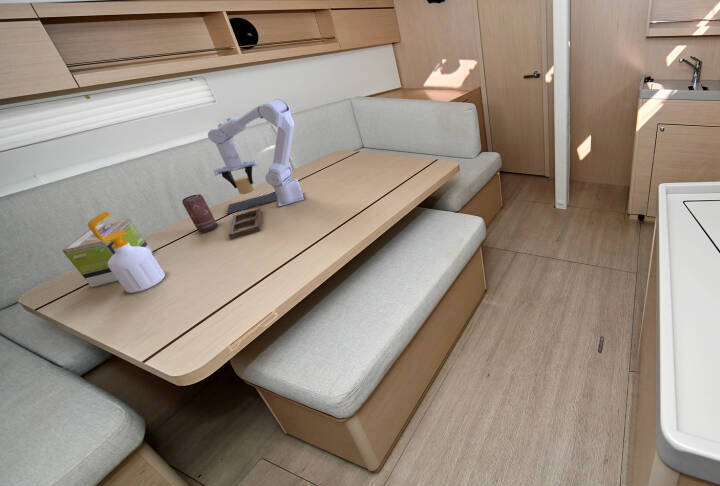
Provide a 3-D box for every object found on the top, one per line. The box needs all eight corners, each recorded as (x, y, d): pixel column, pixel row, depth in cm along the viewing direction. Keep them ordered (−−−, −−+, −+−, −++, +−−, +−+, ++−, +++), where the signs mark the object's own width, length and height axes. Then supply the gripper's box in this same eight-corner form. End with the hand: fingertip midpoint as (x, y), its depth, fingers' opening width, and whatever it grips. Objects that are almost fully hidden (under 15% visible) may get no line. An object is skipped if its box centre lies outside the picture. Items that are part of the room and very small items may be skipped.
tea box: (118, 260, 121) (93, 224, 115) (154, 252, 124) (131, 216, 118) (89, 288, 108) (59, 249, 102) (130, 278, 111) (103, 239, 105)
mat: (276, 192, 162) (276, 192, 162) (276, 200, 155) (276, 200, 154) (229, 205, 154) (229, 204, 154) (227, 214, 147) (226, 213, 146)
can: (222, 224, 139) (206, 193, 133) (208, 233, 133) (191, 201, 127) (209, 224, 140) (192, 193, 134) (194, 233, 134) (176, 201, 128)
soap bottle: (171, 276, 110) (128, 209, 100) (134, 296, 103) (83, 226, 92) (157, 270, 114) (114, 205, 103) (120, 289, 107) (70, 220, 96)
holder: (261, 212, 146) (259, 208, 145) (259, 230, 132) (257, 226, 131) (235, 219, 142) (233, 215, 141) (230, 239, 128) (228, 234, 127)
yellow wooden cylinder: (254, 187, 154) (248, 175, 151) (253, 191, 150) (248, 179, 147) (240, 191, 151) (234, 178, 149) (239, 195, 147) (233, 182, 145)
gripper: (207, 163, 137) (222, 193, 143) (250, 153, 144) (263, 183, 149) (209, 158, 143) (224, 188, 148) (251, 149, 149) (264, 178, 155)
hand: (244, 185), depth 149 cm, fingers closed on yellow wooden cylinder, 5 cm apart
